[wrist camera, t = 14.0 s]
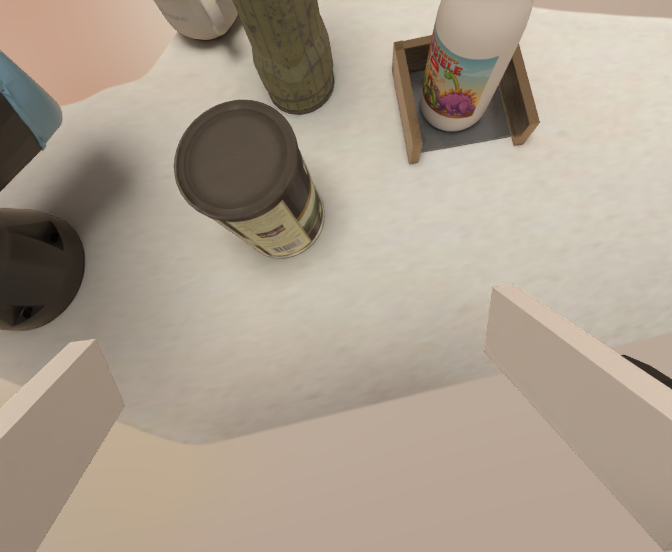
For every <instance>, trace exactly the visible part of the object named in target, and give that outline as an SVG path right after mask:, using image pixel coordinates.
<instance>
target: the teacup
mask: <svg viewBox="0 0 672 552" xmlns="http://www.w3.org/2000/svg"><path fill="white" fill-rule="evenodd" d="M154 1H155V3H156V4H157V6H158V7H159V9H160V11H161V12H162V14H163V15H164V17H165V18H166V19H167V21H168V22H169V23H170V24H171V26H172V27H173V28H174V29H175V30H177V31H178V32H179V33H181V34H183V35H184V36H187V37H190V38H194V39H202V40H210V39H214V38H217V37H219V36H221V35H223V34H225V33H226V32H227V31H228V30H229V28H230V27H231V25H232V24H233V23H234V21H235V19H236V18H237V16H238V13H237V11H236V8H235V6H234V4H233V1H232V0H154Z"/></svg>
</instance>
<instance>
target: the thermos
mask: <svg viewBox="0 0 672 552" xmlns="http://www.w3.org/2000/svg"><path fill="white" fill-rule="evenodd" d="M232 1H233V4H234V6H235V8H236V11H237V13H238V15H239V18H240V20H241V22H242V25H243V27H244V29H245V32H246V34H247V36H248V39H249V41H250V43H251V46H252V53H253V61H254V65H255V67H256V69H257V71H258V73H259V76H260V78H261V80H262V82H263V84H264V86H265V88H266V90H267V91H268V92H269V95H270V97H271V99H272V101H273V103H274V104H275V105H276V106H277V107H278V108H279V109H281V110H282V111H285V112H287V113H290V114H300V115H301V114H305V113H310V112H312V111H314V110H316V109H318V108H320V107H321V106H322V105H323V104H324V103H325V102H326V101H327V100H328V99H329V97H330V95H331V93H332V91H333V87H334V76H333V70H332V69H333V61H332V55H331V48H330V42H329V37H328V33H327V30H326V28H325V25H324V23H323V20H322V18H321V16H320V13H319V7H318V2H317V0H232Z"/></svg>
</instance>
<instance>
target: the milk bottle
mask: <svg viewBox="0 0 672 552" xmlns="http://www.w3.org/2000/svg"><path fill="white" fill-rule="evenodd" d="M532 4H533V0H441V3H440V6H439V9H438V13H437V17H436V21H435V25H434V30H433V34H432V39H431V44H430V49H429V54H428V59H427V65H426V70H425V75H424V80H423V86H422V91H421V98H420V107H421V111H422V113H423V115H424V117H425V119H426V120H427V121H428V122H429V123H430V124H431V125H432V126H434V127H436V128H438V129H441V130H443V131H460V130H463V129H466V128H468V127H470V126H472V125H473V124H475V123H476V122H477V121H478V120H479V119H480V118H481V117H482V116H483V114H484V112H485V110H486V109H487V107H488V105H489V103H490V101H491V99H492V97H493V95H494V93H495V91H496V89H497V87H498V85H499V83H500V81H501V79H502V77H503V75H504V72H505V70H506V68H507V66H508V64H509V62H510V60H511V58H512V56H513V54H514V52H515V50H516V48H517V46H518V43H519V41H520V39H521V37H522V34H523V32H524V30H525V28H526V25H527V22H528V19H529V16H530V13H531V9H532Z"/></svg>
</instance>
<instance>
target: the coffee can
mask: <svg viewBox="0 0 672 552" xmlns="http://www.w3.org/2000/svg"><path fill="white" fill-rule="evenodd" d="M174 173H175V179H176V183H177V186H178V188H179V191H180V192H181V194H182V196H183V197H184V199H185V200H186V201H187V202H188V204H189V205H191V206H192V207H193V208H194V209H195V210H197V211H198V212H200V213H202V214H204V215H206V216H208V217H210V218H212V219H213V220H215V221H216V222H218V223H219V224H220V225H222V226H223V227H225V228H226V229H228V230H229V231H231V232H232V233H234V234H235V235H236V236H238V237H239V238H241V239H242V240H244V241H245V242H247V243H248V244H250V245H251V246H252V247H253V248H254V249H256V250H257V251H258V252H260V253H262V254H264V255H266V256H269V257H273V258H287V257H292V256H295V255H298V254H300V253H302V252H303V251H305V250H306V249H308V248H309V247H310V246H311V245H312V244H313V243H314V242H315V240H316V239H317V238H318V236H319V234H320V232H321V230H322V227H323V223H324V207H323V203H322V200H321V198H320V196H319V195H318V193H317V191H316V188H315V186H314V184H313V181H312V179H311V177H310V174H309V172H308V170H307V167H306V164H305V162H304V160H303V157H302V155H301V153H300V150H299V148H298V144H297V140H296V137H295V134H294V132H293V129H292V127H291V126H290V124H289V123H288V121H287V120H286V119H285V118H284V117H283V116H282V115H281V114H280V113H279V112H278V111H277V110H275V109H274V108H272V107H271V106H268V105H266V104H264V103H261V102H258V101H252V100H234V101H229V102H225V103H222V104H219V105H216V106H214V107H212V108H210V109H209V110H207V111H205V112H204V113H203V114H201V115H200V116H199V117H197V118H196V119H195V120H194V121H193V122H192V123H191V125H190V126H189V127H188V128H187V130H186V131H185V133H184V134H183V136H182V138H181V140H180V142H179V144H178V147H177V150H176V154H175V160H174Z"/></svg>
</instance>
